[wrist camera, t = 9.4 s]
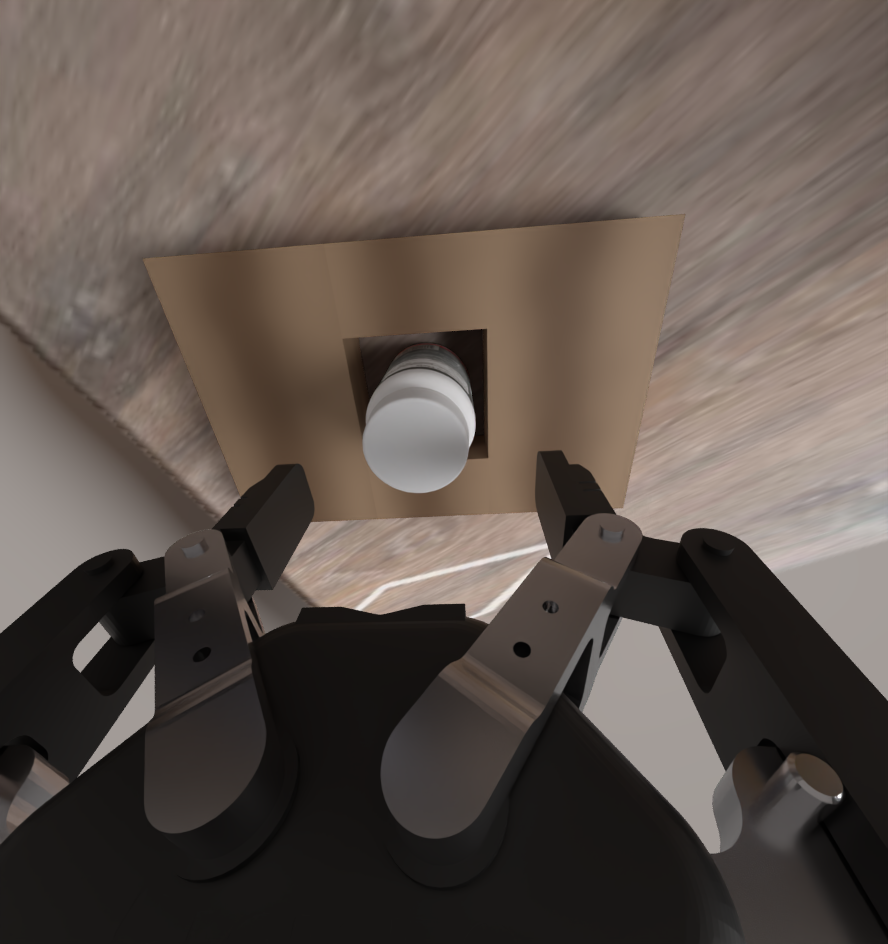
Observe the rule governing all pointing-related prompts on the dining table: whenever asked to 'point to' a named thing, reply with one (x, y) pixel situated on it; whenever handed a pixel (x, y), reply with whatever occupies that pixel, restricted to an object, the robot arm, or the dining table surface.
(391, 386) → the pill bottle
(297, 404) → the board
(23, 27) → the dining table surface
